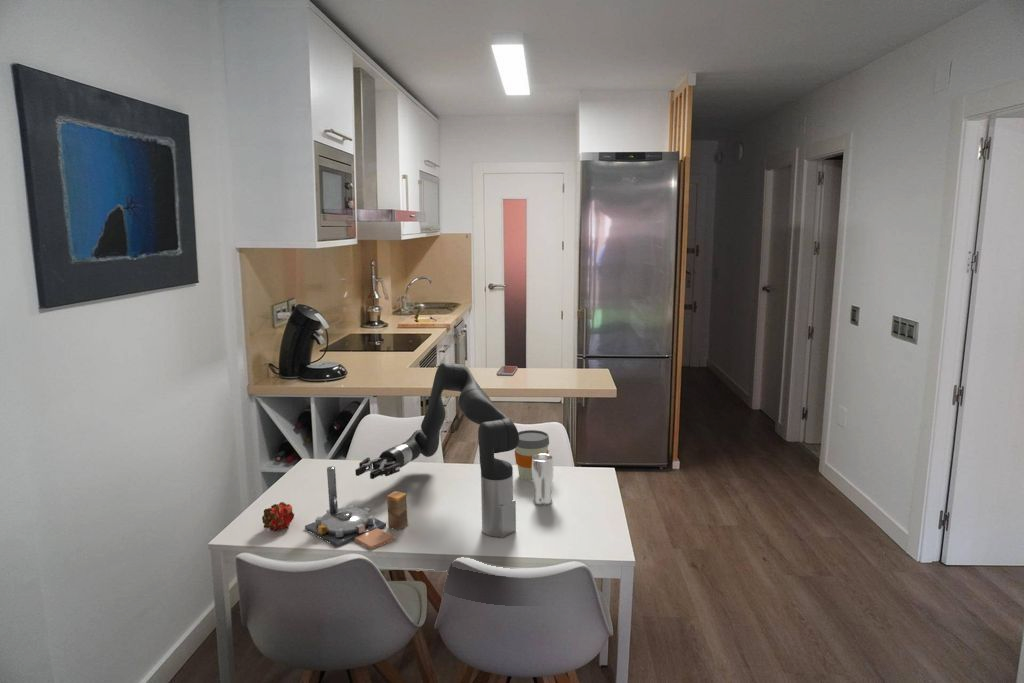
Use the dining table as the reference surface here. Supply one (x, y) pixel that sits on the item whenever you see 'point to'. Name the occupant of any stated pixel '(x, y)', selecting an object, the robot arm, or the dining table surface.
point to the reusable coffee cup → (530, 450)
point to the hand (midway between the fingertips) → (363, 474)
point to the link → (397, 510)
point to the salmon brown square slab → (374, 538)
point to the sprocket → (342, 514)
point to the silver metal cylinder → (542, 478)
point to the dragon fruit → (278, 516)
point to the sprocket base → (347, 537)
